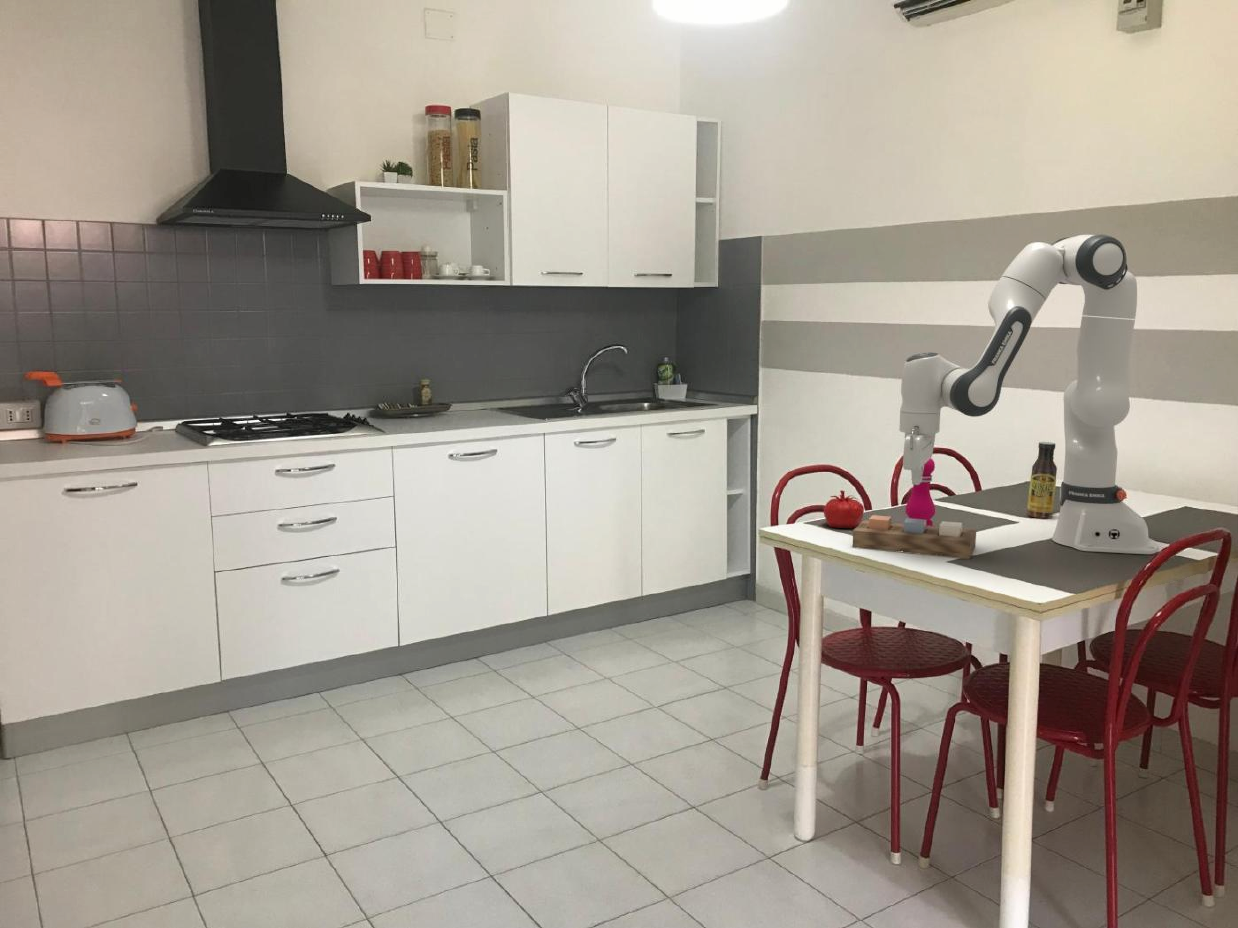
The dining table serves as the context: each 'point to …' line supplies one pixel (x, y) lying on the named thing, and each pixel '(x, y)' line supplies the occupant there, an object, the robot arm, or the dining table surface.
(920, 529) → the slate button
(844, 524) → the red tomato
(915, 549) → the button panel
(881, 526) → the terracotta button
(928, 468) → the pepper mill
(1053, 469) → the sauce bottle
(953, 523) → the cream button
